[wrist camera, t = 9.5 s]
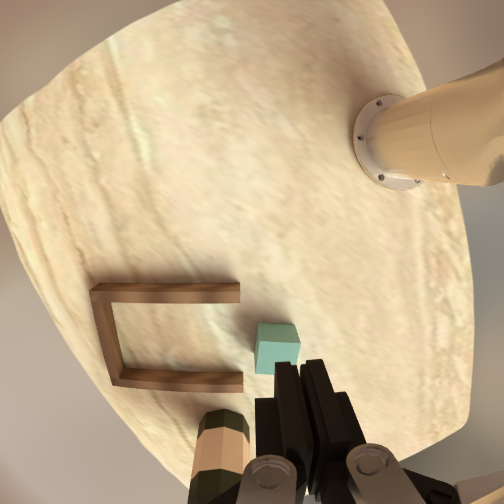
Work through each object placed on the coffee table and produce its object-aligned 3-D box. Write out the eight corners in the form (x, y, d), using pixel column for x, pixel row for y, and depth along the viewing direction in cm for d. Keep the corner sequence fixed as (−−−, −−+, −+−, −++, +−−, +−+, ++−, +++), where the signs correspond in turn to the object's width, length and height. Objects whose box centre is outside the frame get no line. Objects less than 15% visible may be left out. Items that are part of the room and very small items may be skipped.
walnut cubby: (239, 282, 40) (239, 291, 37) (243, 380, 43) (243, 392, 40) (98, 283, 39) (89, 290, 36) (118, 374, 43) (112, 385, 40)
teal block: (294, 324, 41) (300, 343, 37) (289, 355, 43) (293, 375, 38) (258, 322, 41) (259, 340, 36) (254, 353, 42) (255, 373, 38)
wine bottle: (225, 401, 44) (214, 579, 15) (259, 427, 46) (269, 589, 17) (189, 422, 46) (161, 581, 17) (223, 446, 47) (215, 594, 18)
